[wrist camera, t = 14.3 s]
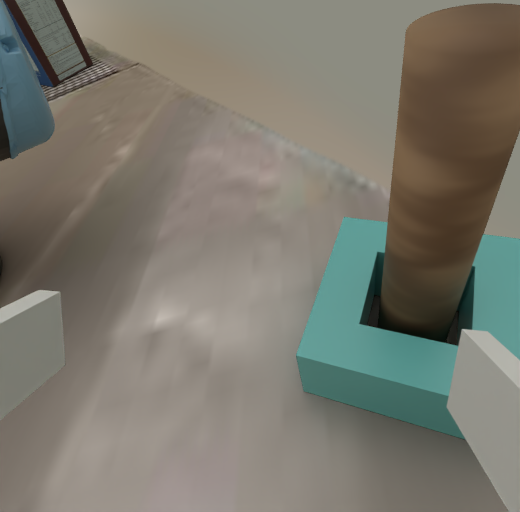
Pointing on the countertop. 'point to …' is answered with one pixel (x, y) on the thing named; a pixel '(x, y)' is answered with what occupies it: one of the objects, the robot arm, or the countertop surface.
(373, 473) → the countertop surface
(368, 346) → the socket
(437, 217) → the dowel
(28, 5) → the protein box
